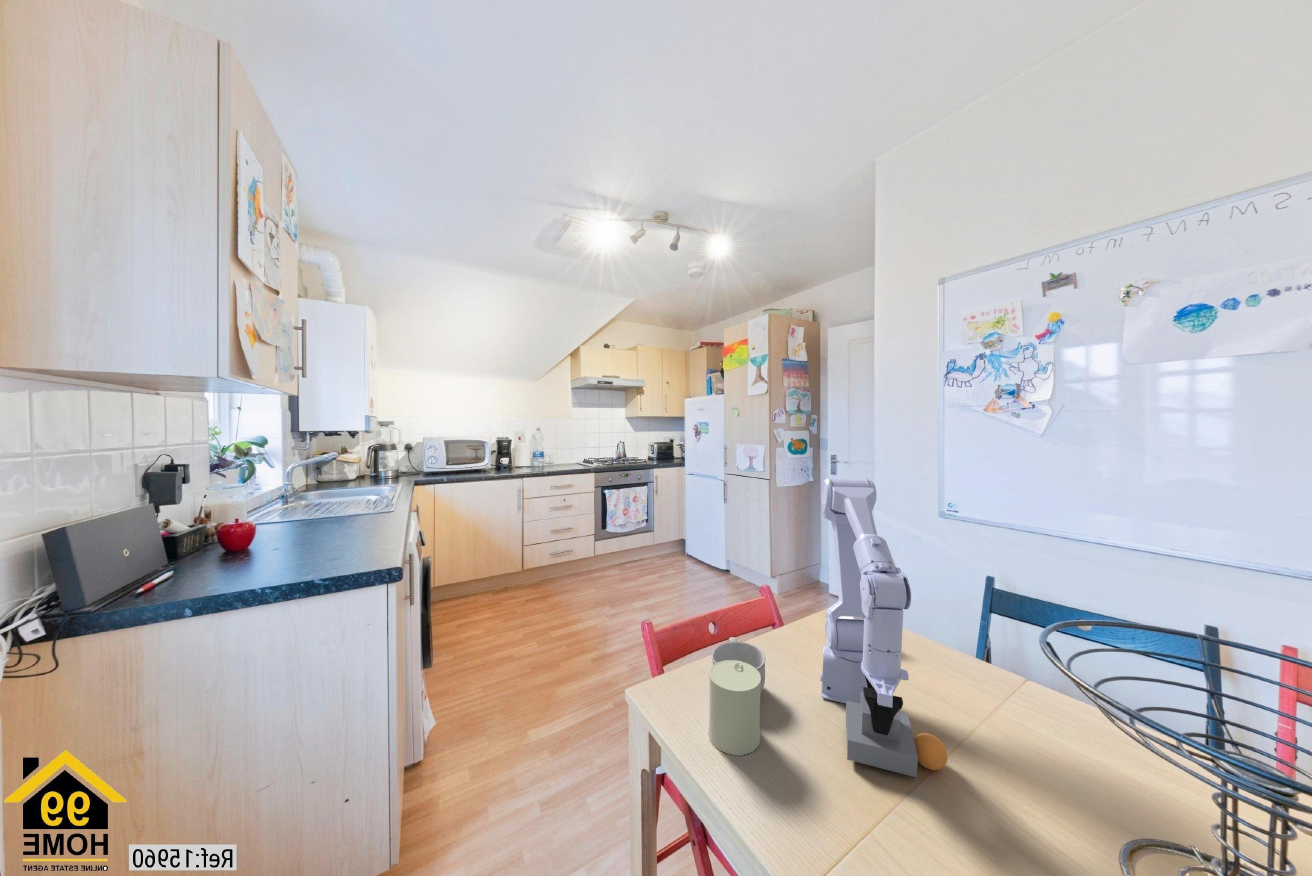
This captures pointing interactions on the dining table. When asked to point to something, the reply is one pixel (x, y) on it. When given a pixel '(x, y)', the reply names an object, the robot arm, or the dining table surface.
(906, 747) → the low gray platform
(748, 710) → the can
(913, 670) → the dining table surface
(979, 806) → the dining table surface
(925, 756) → the brown egg
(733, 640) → the teacup
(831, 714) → the dining table surface
